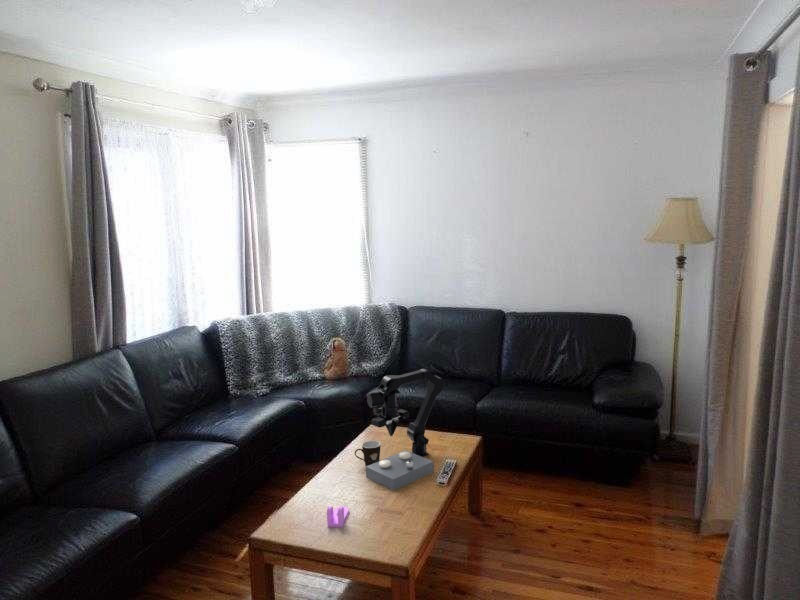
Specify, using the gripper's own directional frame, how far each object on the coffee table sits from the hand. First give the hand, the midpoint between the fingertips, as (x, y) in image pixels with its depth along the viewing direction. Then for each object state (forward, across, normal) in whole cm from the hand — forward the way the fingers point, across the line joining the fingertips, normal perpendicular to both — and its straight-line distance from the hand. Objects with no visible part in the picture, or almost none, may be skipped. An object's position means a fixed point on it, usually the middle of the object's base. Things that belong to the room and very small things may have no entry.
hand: (391, 435), depth 271 cm
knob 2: (+10, +1, +10) cm, 14 cm away
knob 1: (+10, +13, +10) cm, 19 cm away
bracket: (+13, +48, +23) cm, 55 cm away
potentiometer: (+8, +7, +20) cm, 22 cm away
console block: (+12, +7, +13) cm, 19 cm away
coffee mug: (+13, +10, -5) cm, 17 cm away
